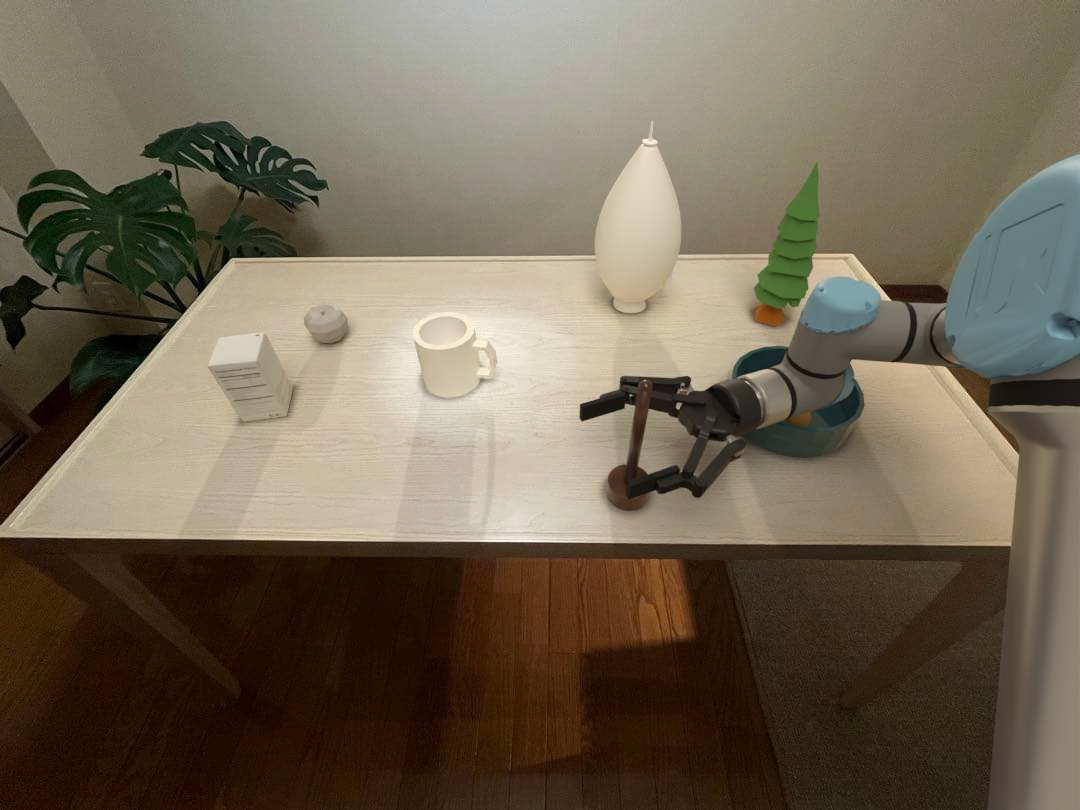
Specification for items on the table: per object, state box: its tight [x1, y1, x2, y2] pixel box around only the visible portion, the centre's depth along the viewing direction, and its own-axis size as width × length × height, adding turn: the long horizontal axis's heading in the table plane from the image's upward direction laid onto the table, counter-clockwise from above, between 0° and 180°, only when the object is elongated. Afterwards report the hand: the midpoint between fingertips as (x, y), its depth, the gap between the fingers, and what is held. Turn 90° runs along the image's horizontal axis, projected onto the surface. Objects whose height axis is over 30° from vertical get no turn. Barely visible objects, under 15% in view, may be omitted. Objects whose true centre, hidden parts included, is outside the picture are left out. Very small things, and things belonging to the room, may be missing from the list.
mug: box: [412, 311, 498, 399], centre depth 89 cm, size 14×10×11 cm
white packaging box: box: [206, 331, 294, 423], centre depth 85 cm, size 7×7×13 cm
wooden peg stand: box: [606, 380, 653, 512], centre depth 67 cm, size 6×6×22 cm
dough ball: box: [786, 412, 811, 428], centre depth 81 cm, size 4×4×4 cm
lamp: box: [594, 120, 682, 314], centre depth 96 cm, size 16×16×35 cm
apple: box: [303, 303, 349, 344], centre depth 100 cm, size 8×8×7 cm
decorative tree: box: [753, 161, 820, 327], centre depth 93 cm, size 10×9×30 cm
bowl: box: [728, 345, 866, 459], centre depth 84 cm, size 19×20×6 cm
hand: (602, 449), depth 65 cm, fingers open, 13 cm apart
